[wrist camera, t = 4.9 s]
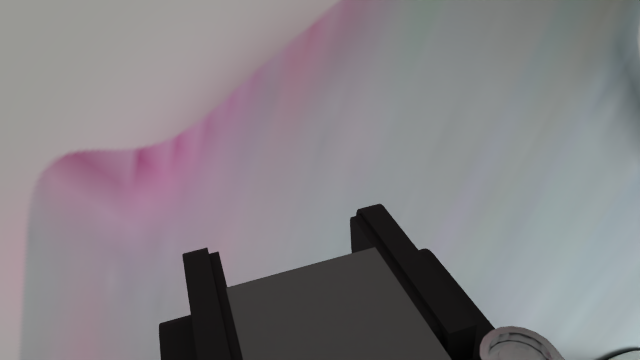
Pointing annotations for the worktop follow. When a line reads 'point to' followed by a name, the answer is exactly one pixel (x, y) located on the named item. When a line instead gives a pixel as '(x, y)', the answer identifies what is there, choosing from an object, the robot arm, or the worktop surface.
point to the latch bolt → (332, 314)
